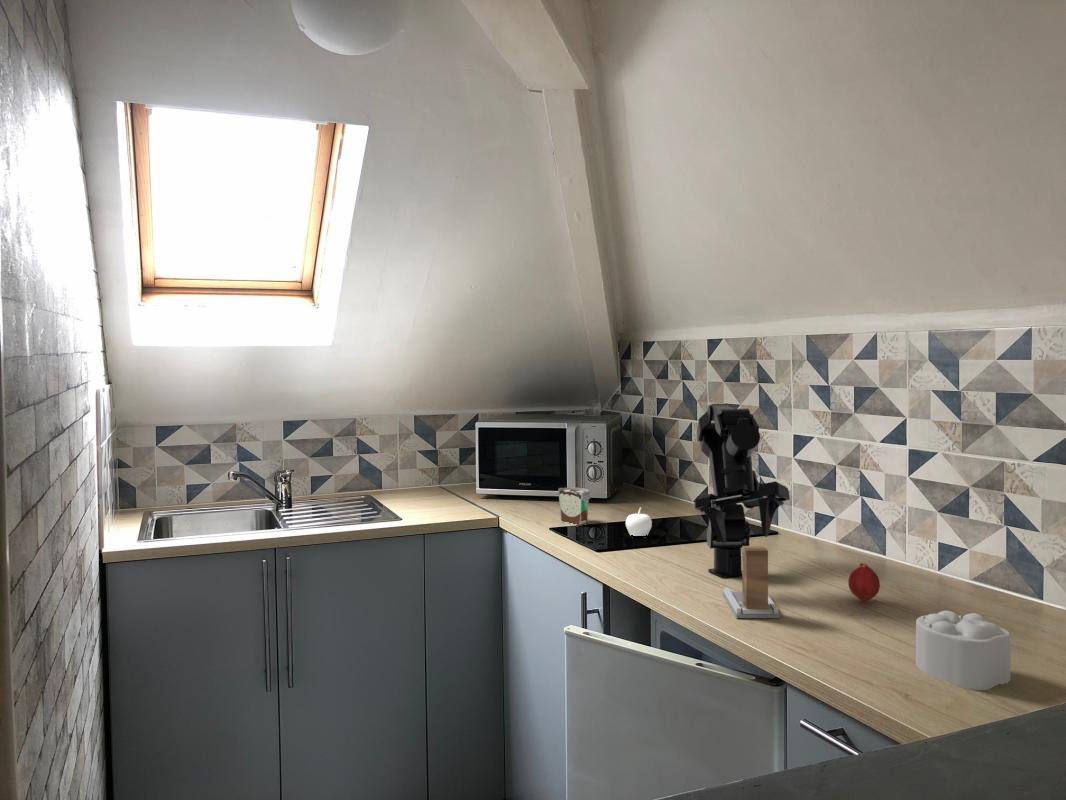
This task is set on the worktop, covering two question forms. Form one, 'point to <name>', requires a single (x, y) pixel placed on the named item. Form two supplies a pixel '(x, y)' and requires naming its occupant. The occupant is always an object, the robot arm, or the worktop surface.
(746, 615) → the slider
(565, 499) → the food container
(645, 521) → the plain white apple
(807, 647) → the worktop surface
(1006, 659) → the lumpy-topped squat cylinder
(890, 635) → the worktop surface
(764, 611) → the brown rectangular block
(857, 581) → the onion
